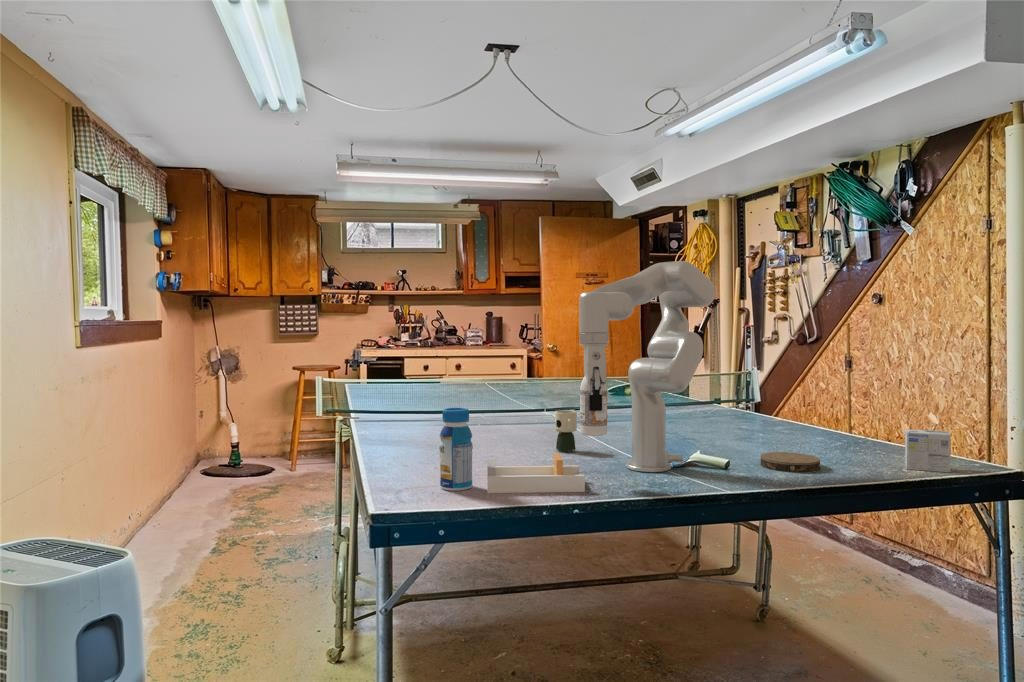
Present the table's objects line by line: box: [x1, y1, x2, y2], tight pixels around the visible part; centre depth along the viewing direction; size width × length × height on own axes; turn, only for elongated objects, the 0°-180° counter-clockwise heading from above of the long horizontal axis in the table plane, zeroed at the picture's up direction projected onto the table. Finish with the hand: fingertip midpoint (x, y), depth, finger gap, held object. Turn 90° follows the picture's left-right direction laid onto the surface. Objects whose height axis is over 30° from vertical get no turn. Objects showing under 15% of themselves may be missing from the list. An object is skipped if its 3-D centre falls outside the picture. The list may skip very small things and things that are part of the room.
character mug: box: [554, 409, 578, 453], centre depth 215 cm, size 11×7×13 cm, turn 11°
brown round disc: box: [760, 451, 821, 474], centre depth 191 cm, size 16×16×3 cm
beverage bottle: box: [438, 407, 474, 492], centre depth 168 cm, size 8×8×20 cm
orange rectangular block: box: [552, 452, 564, 475], centre depth 169 cm, size 2×9×6 cm, turn 2°
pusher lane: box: [486, 459, 586, 494], centre depth 169 cm, size 24×12×6 cm, turn 92°
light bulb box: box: [904, 428, 952, 473], centre depth 187 cm, size 11×7×11 cm, turn 65°
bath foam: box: [579, 373, 608, 437], centre depth 171 cm, size 7×7×20 cm
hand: (594, 408), depth 171 cm, fingers closed on bath foam, 7 cm apart
